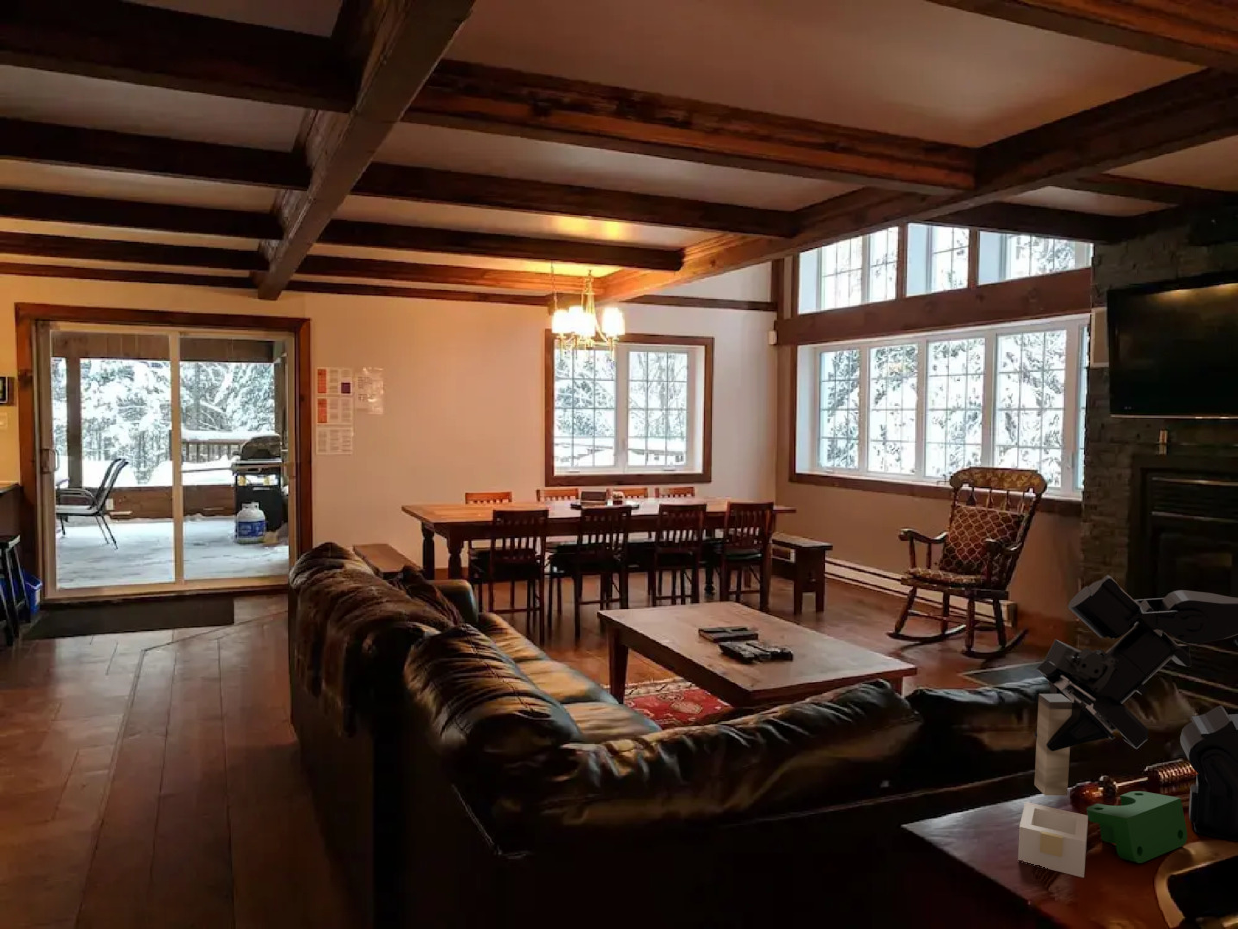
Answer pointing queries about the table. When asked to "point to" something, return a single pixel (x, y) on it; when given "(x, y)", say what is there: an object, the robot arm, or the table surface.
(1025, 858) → the white labeled box
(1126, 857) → the clamp
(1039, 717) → the tall wooden post
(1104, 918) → the table surface
